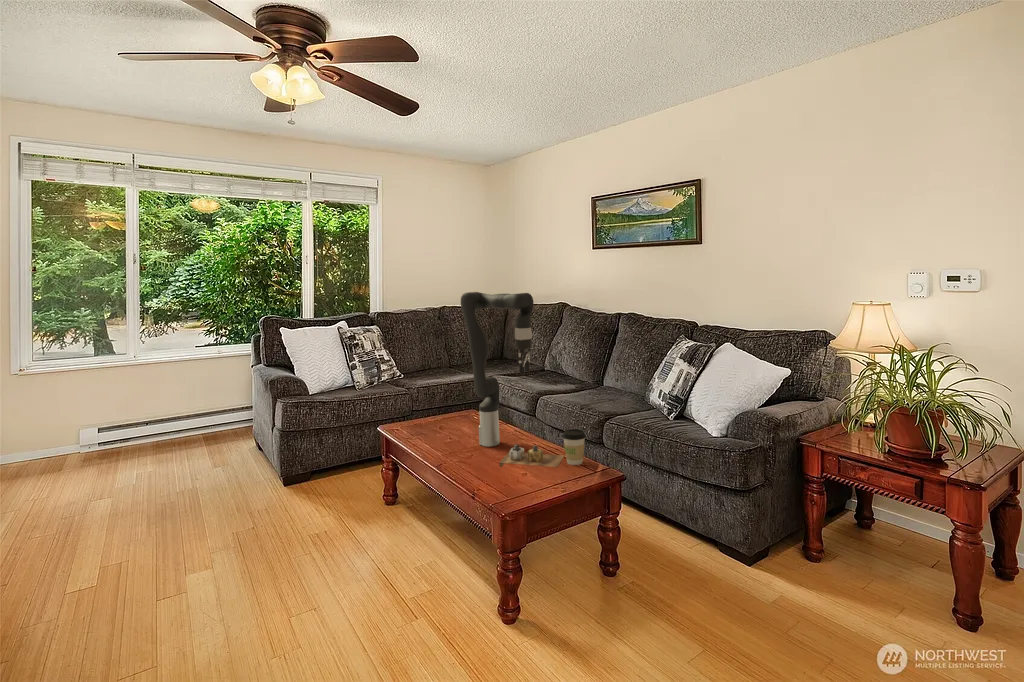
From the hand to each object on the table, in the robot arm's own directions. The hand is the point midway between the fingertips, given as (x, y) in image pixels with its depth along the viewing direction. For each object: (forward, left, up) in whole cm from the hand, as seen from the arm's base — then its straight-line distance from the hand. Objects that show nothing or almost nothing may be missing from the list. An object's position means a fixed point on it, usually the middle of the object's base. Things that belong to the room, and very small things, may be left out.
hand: (524, 373), depth 239 cm
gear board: (+5, -10, -38) cm, 40 cm away
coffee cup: (+24, -10, -38) cm, 46 cm away
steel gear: (-2, -10, -37) cm, 38 cm away
